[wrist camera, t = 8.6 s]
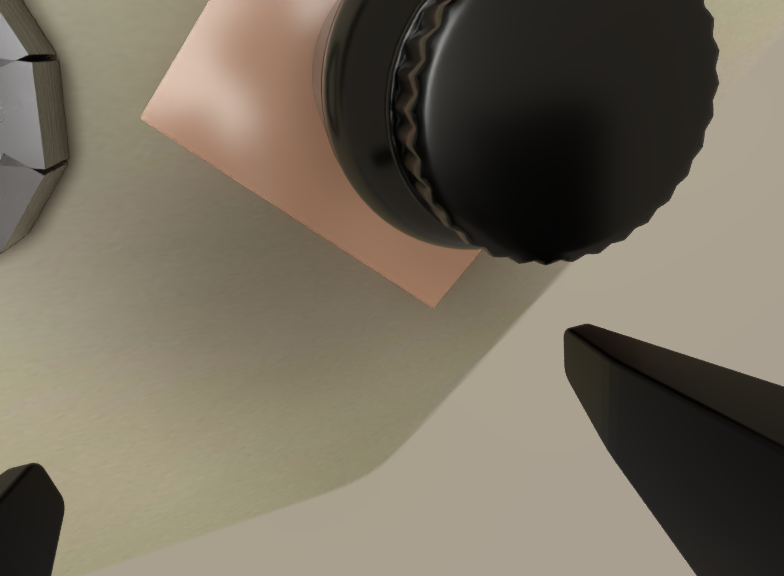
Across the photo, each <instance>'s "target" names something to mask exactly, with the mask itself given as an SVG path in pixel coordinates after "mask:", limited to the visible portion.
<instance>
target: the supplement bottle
mask: <svg viewBox="0 0 784 576" xmlns="http://www.w3.org/2000/svg"><path fill="white" fill-rule="evenodd" d="M713 28H714V18H713V17H712V15H711V13H710V12H709V11H708V10H707V9H706V8H705V5H704V0H337V1H336V2H335V4H334V5H333V7H332V8H331V10H330V12H329V13H328V15H327V17H326V19H325V21H324V23H323V25H322V28H321V30H320V33H319V36H318V39H317V42H316V46H315V51H314V56H313V65H312V82H313V92H314V98H315V103H316V107H317V110H318V113H319V116H320V119H321V122H322V124H323V127H324V129H325V132H326V135H327V137H328V140H329V142H330V145H331V148H332V150H333V153H334V155H335V157H336V159H337V161H338V164H339V166H340V167H341V169H342V171H343V173H344V174H345V176H346V178H347V179H348V181H349V183H350V184H351V186H352V187H353V188H354V190H355V191H356V192H357V194H358V195H359V196H360V198H361V199H362V200H363V201H364V202H365V203H366V204H367V205H368V206H369V208H370V209H371V210H372V211H373V212H375V213H376V214H377V215H378V216H379V217H380V218H381V219H383V220H384V221H385V222H387V223H388V224H390V225H391V226H392V227H394V228H395V229H397V230H399V231H401V232H402V233H404V234H406V235H408V236H410V237H412V238H415V239H417V240H419V241H422V242H425V243H428V244H432V245H435V246H440V247H444V248H450V249H459V250H479V249H484V250H485V251H486V252H487V253H488V254H489V255H490V256H493V257H508V258H510V259H511V260H513V261H514V262H516V263H519V264H521V263H528V262H532V261H535V262H537V263H540V264H543V265H549V264H552V263H554V262H557V261H559V260H564V261H568V262H573V261H575V260H577V259H579V258H581V257H582V256H584V255H586V254H598V253H600V252H601V251H603V250H604V249H605V248H607V247H608V246H609V245H610V244H611V243H616V242H620V241H623V240H625V239H626V238H627V237H628V236H629V235H630V234H631V233H632V231H633V230H634V229H635V228H637V227H639V226H642V225H644V224H646V223H648V222H649V220H650V219H651V217H652V216H653V215H654V213H655V211H656V210H657V209H658V208H659V207H661V206H662V205H664V204H666V203H667V202H668V201H669V200H670V199H671V197H672V195H673V193H674V190H675V188H676V186H677V185H678V184H679V183H680V182H681V181H683V179H685V178H686V177H687V176H688V174H689V171H690V167H691V164H692V160H693V159H694V157H695V156H696V155H697V154H698V153H699V151H700V150H701V149H702V147H703V142H704V135H705V130H706V128H707V126H708V124H709V123H710V121H711V119H712V118H713V99H714V96H715V94H716V91H717V88H718V85H719V80H718V75H717V72H716V64H717V60H718V55H719V49H718V46H717V44H716V42H715V40H714V38H713Z"/></svg>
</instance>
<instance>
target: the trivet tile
mask: <svg viewBox="0 0 784 576" xmlns="http://www.w3.org/2000/svg"><path fill="white" fill-rule="evenodd" d="M336 1H337V0H209V1H208V3H207V5H206V6H205V8H204V10H203V11H202V13H201V15H200V17H199V18H198V20H197V22H196V23H195V25H194V27H193V28H192V30H191V32H190V34H189V35H188V37H187V39H186V40H185V42H184V44H183V45H182V47H181V49H180V51H179V52H178V54H177V56H176V57H175V59H174V61H173V63H172V64H171V66H170V68H169V69H168V71H167V73H166V74H165V76H164V78H163V80H162V81H161V83H160V85H159V86H158V88H157V90H156V91H155V93H154V95H153V97H152V98H151V100H150V102H149V103H148V105H147V107H146V108H145V110H144V112H143V114H142V115H141V117H140V119H142V120H143V121H145V122H146V123H148V124H149V125H151V126H152V127H154V128H156V129H157V130H159V131H160V132H162V133H163V134H165V135H166V136H168V137H169V138H171V139H172V140H174V141H176V142H177V143H179V144H180V145H182V146H183V147H185V148H186V149H188V150H189V151H191V152H193V153H194V154H196V155H197V156H199V157H200V158H202V159H203V160H205V161H206V162H208V163H209V164H211V165H213V166H214V167H216V168H217V169H219V170H220V171H222V172H223V173H225V174H226V175H228V176H230V177H231V178H233V179H234V180H236V181H237V182H239V183H240V184H242V185H243V186H245V187H247V188H248V189H250V190H251V191H253V192H254V193H256V194H257V195H259V196H260V197H262V198H263V199H265V200H267V201H268V202H270V203H271V204H273V205H274V206H276V207H277V208H279V209H280V210H282V211H284V212H285V213H287V214H288V215H290V216H291V217H293V218H294V219H296V220H297V221H299V222H301V223H302V224H304V225H305V226H307V227H308V228H310V229H311V230H313V231H314V232H316V233H317V234H319V235H321V236H322V237H324V238H325V239H327V240H328V241H330V242H331V243H333V244H334V245H336V246H338V247H339V248H341V249H342V250H344V251H345V252H347V253H348V254H350V255H351V256H353V257H355V258H356V259H358V260H359V261H361V262H362V263H364V264H365V265H367V266H368V267H370V268H371V269H373V270H375V271H376V272H378V273H379V274H381V275H382V276H384V277H385V278H387V279H388V280H390V281H392V282H393V283H395V284H396V285H398V286H399V287H401V288H402V289H404V290H405V291H407V292H409V293H410V294H412V295H413V296H415V297H416V298H418V299H419V300H421V301H422V302H424V303H425V304H427V305H429V306H430V307H432V308H434V307H435V306H436V305H437V303H438V302H439V301H440V300H441V298H442V297H443V296H444V295H445V294H446V292H447V291H448V290H449V289H450V288H451V286H452V285H453V284H454V283H455V282H456V280H457V279H458V278H459V277H460V275H461V274H462V273H463V272H464V271H465V269H466V268H467V267H468V266H469V265H470V263H471V262H472V261H473V260H474V259H475V257H476V256H477V255H478V254H479V253H480V251H481V250H482V249H479V250H459V249H450V248H444V247H440V246H435V245H432V244H428V243H425V242H422V241H419V240H417V239H415V238H412V237H410V236H408V235H406V234H404V233H402V232H401V231H399V230H397V229H395V228H394V227H392V226H391V225H390V224H388V223H387V222H385V221H384V220H383V219H381V218H380V217H379V216H378V215H377V214H376V213H375V212H373V211H372V210H371V209H370V208H369V206H368V205H367V204H366V203H365V202H364V201H363V200H362V199H361V198H360V196H359V195H358V194H357V192H356V191H355V190H354V188H353V187H352V186H351V184H350V183H349V181H348V179H347V178H346V176H345V174H344V173H343V171H342V169H341V167H340V166H339V164H338V161H337V159H336V157H335V155H334V153H333V150H332V148H331V145H330V142H329V140H328V137H327V135H326V132H325V129H324V127H323V124H322V122H321V119H320V116H319V113H318V110H317V107H316V103H315V98H314V92H313V82H312V65H313V56H314V51H315V46H316V42H317V39H318V36H319V33H320V30H321V28H322V25H323V23H324V21H325V19H326V17H327V15H328V13H329V12H330V10H331V8H332V7H333V5H334V4H335V2H336Z"/></svg>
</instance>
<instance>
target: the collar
mask: <svg viewBox="0 0 784 576" xmlns="http://www.w3.org/2000/svg"><path fill="white" fill-rule="evenodd" d="M54 54H56V52H55V51H54V49H53V48H52V46H51V45H50V43H49V42H48V40H47V39H46V37H45V35H44V34H43V32H42V31H41V29H40V28H39V26H38V25H37V23H36V22H35V20H34V19H33V17H32V15H31V14H30V12H29V11H28V9H27V8H26V6H25V5H24V3H23V2H22V0H0V158H1V159H0V254H1V253H3V252H4V251H6V250H7V249H8V248H10V247H11V246H12V245H14V244H15V243H17V242H18V241H19V240H21V239H22V238H24V236H25V235H27V234H28V233H29V232H30V230H31V228H32V226H33V225H34V223H35V221H36V219H37V218H38V216H39V214H40V212H41V210H42V209H43V207H44V205H45V203H46V202H47V200H48V198H49V196H50V194H51V193H52V191H53V189H54V187H55V186H56V184H57V182H58V180H59V178H60V177H61V175H62V173H63V171H64V170H65V168H66V166H67V164H68V163H67V162H65V161H64V160H65V159H67V158H69V150H68V141H67V131H66V122H65V113H64V103H63V94H62V85H61V75H60V66H59V61H56V60H49V59H46V58H48V57H50V56H52V55H54Z"/></svg>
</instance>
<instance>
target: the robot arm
mask: <svg viewBox="0 0 784 576" xmlns="http://www.w3.org/2000/svg"><path fill="white" fill-rule="evenodd" d="M564 366H565V372H566V376H567V378H568V380H569V382H570V384H571V386H572V388H573V390H574V391H575V393H576V395H577V397H578V399H579V401H580V402H581V404H582V406H583V408H584V409H585V411H586V413H587V415H588V417H589V418H590V420H591V422H592V424H593V426H594V427H595V429H596V431H597V433H598V435H599V436H600V438H601V440H602V442H603V443H604V445H605V447H606V448H607V450H608V452H609V453H610V455H611V456H612V458H613V459H614V461H615V462H616V463H617V465H618V466H619V468H620V469H621V470H622V472H623V473H624V475H625V476H626V477H627V479H628V480H629V482H630V483H631V484H632V486H633V487H634V488H635V490H636V491H637V493H638V494H639V496H640V497H641V498H642V500H643V501H644V503H645V504H646V505H647V507H648V508H649V510H650V511H651V512H652V514H653V515H654V517H655V518H656V519H657V521H658V522H659V524H660V525H661V526H662V528H663V529H664V530H665V532H666V533H667V535H668V536H669V538H670V539H671V540H672V542H673V543H674V545H675V546H676V547H677V549H678V550H679V552H680V553H681V554H682V556H683V557H684V559H685V560H686V561H687V563H688V564H689V566H690V567H691V568H692V570H693V571H694V573H695V574H696V575H697V576H784V386H781V385H777V384H774V383H771V382H768V381H765V380H762V379H759V378H756V377H753V376H750V375H746V374H743V373H740V372H737V371H734V370H731V369H728V368H724V367H722V366H718V365H715V364H712V363H709V362H706V361H703V360H699V359H697V358H694V357H691V356H687V355H684V354H681V353H678V352H675V351H672V350H669V349H666V348H663V347H659V346H656V345H653V344H650V343H647V342H644V341H641V340H638V339H635V338H632V337H628V336H625V335H622V334H619V333H616V332H613V331H610V330H607V329H604V328H600V327H597V326H594V325H591V324H583V325H579V326H575V327H571V328H568V329H567V330H566V331H565V333H564ZM63 516H64V501H63V498H62V495H61V494H60V492H59V491H58V489H57V488H56V486H55V485H54V483H53V481H52V480H51V478H50V477H49V475H48V474H47V472H46V471H45V469H44V468H43V467H42V466H41V465H40V464H38V463H30V464H26V465H22V466H18V467H14V468H10V469H8V470H6V471H5V472H4V473H2V474H1V475H0V576H51V574H52V569H53V564H54V560H55V555H56V550H57V545H58V540H59V536H60V531H61V526H62V521H63Z"/></svg>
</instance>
